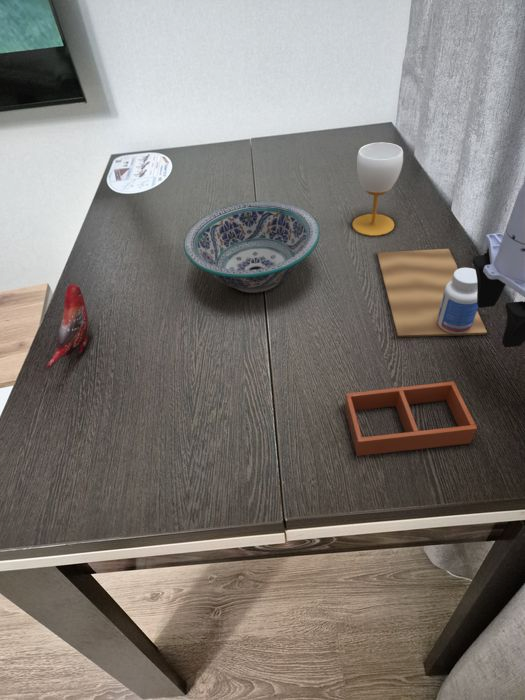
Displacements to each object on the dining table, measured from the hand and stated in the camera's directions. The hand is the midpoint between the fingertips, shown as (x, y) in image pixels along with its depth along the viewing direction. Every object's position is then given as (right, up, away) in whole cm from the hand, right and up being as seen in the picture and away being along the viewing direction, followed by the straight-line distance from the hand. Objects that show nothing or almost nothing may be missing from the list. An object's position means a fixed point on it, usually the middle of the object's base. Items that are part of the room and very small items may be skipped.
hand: (497, 324), depth 57 cm
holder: (-11, -14, +3) cm, 18 cm away
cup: (-7, +24, +39) cm, 46 cm away
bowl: (-32, +11, +30) cm, 45 cm away
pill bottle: (+1, +1, +15) cm, 15 cm away
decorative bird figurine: (-62, -4, +19) cm, 65 cm away
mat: (-1, +8, +22) cm, 23 cm away
